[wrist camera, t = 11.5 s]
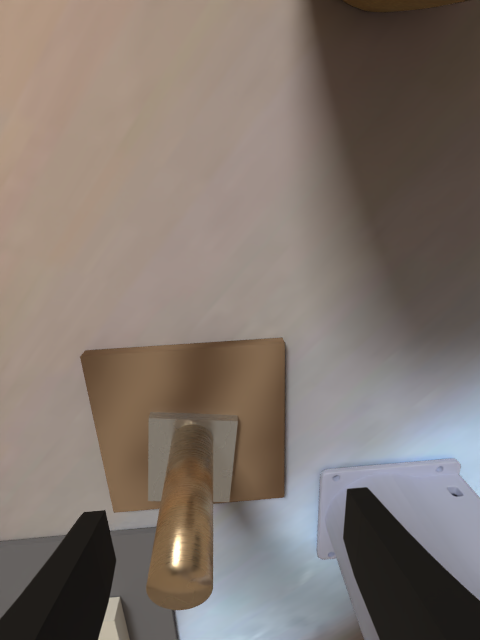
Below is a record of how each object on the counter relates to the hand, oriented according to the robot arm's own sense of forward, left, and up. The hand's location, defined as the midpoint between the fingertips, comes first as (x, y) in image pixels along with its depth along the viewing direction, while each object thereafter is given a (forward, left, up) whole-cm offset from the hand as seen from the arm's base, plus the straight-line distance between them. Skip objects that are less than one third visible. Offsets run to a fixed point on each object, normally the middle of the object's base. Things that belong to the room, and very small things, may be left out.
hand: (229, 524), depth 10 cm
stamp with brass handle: (+2, +5, -10) cm, 11 cm away
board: (+2, +4, -10) cm, 11 cm away
